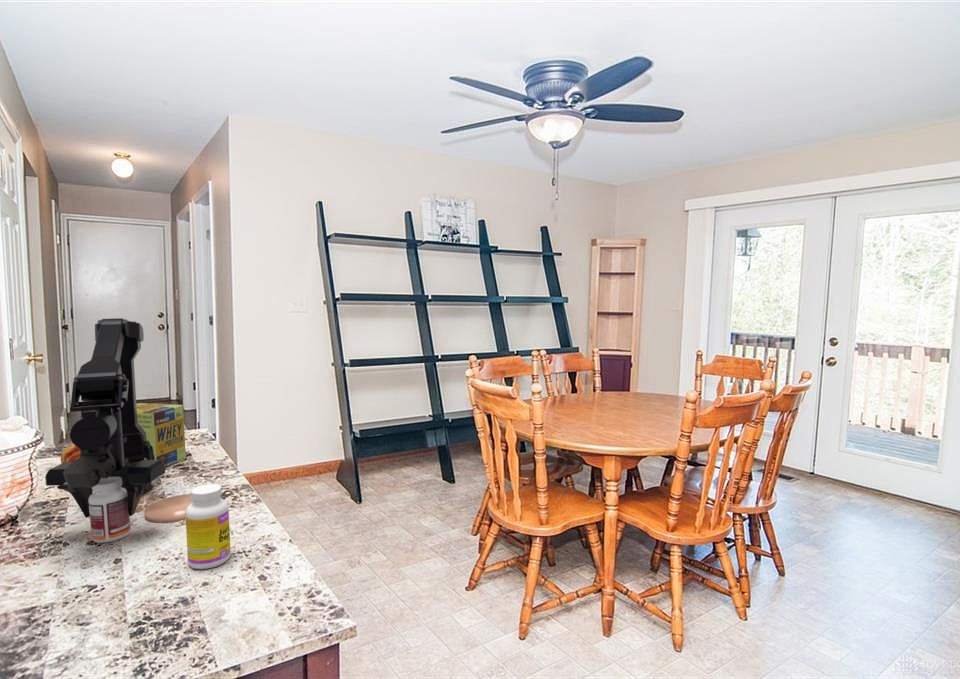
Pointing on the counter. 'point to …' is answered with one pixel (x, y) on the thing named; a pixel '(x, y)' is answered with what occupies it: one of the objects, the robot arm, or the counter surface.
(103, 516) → the pill bottle
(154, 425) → the protein box
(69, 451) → the croissant
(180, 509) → the terracotta plate
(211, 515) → the supplement bottle
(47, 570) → the counter surface
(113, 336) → the robot arm
